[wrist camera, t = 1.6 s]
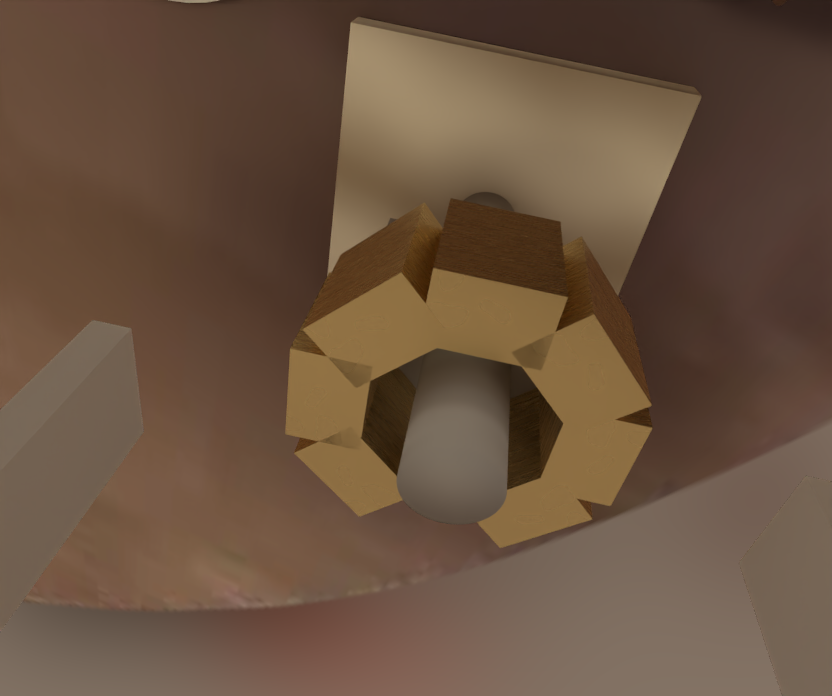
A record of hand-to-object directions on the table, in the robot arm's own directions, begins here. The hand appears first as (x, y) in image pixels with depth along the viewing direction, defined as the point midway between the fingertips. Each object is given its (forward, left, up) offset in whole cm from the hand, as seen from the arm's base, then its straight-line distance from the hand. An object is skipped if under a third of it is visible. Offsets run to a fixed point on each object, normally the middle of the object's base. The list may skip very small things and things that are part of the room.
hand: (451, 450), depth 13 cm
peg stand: (0, 0, -11) cm, 11 cm away
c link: (0, 0, -3) cm, 3 cm away
